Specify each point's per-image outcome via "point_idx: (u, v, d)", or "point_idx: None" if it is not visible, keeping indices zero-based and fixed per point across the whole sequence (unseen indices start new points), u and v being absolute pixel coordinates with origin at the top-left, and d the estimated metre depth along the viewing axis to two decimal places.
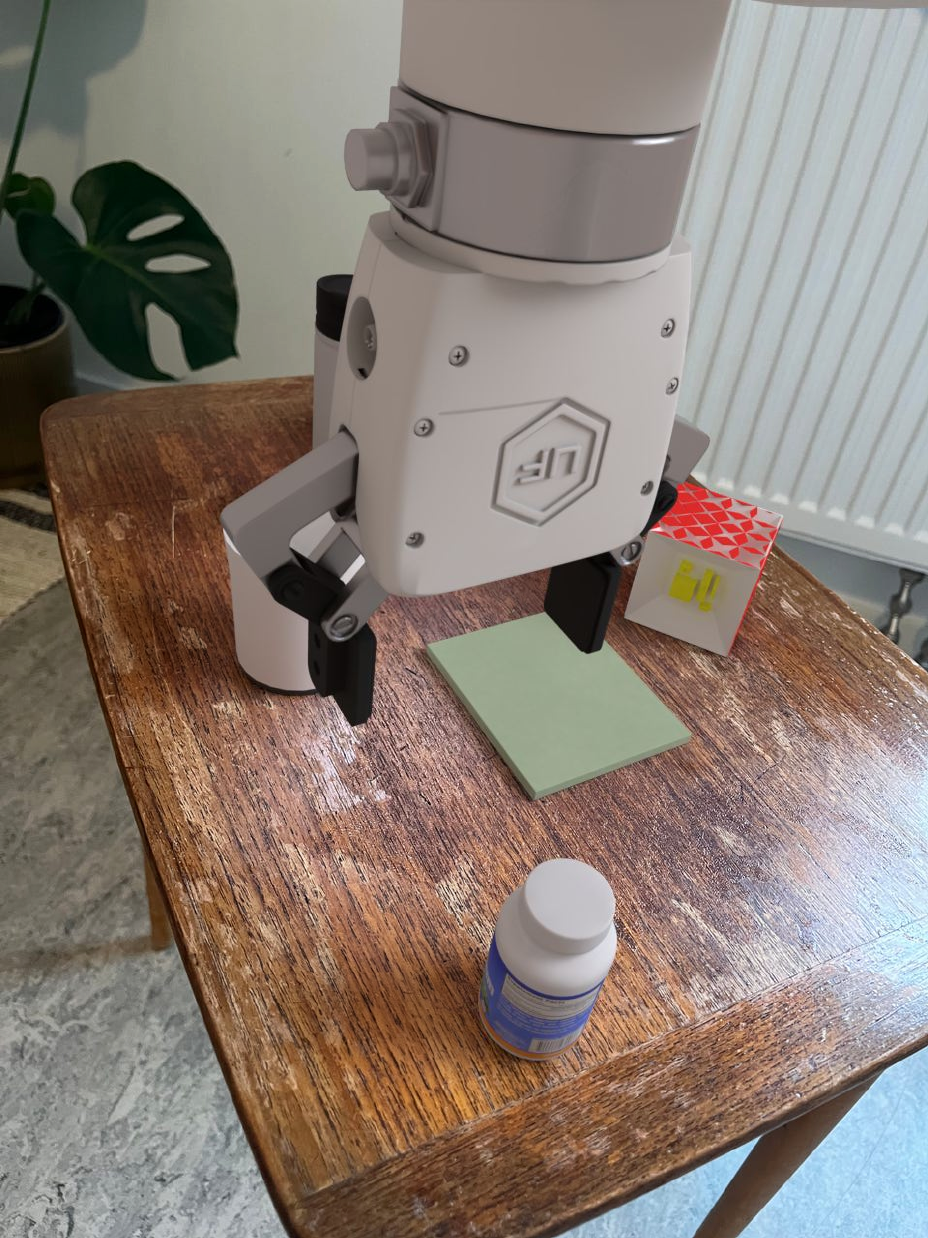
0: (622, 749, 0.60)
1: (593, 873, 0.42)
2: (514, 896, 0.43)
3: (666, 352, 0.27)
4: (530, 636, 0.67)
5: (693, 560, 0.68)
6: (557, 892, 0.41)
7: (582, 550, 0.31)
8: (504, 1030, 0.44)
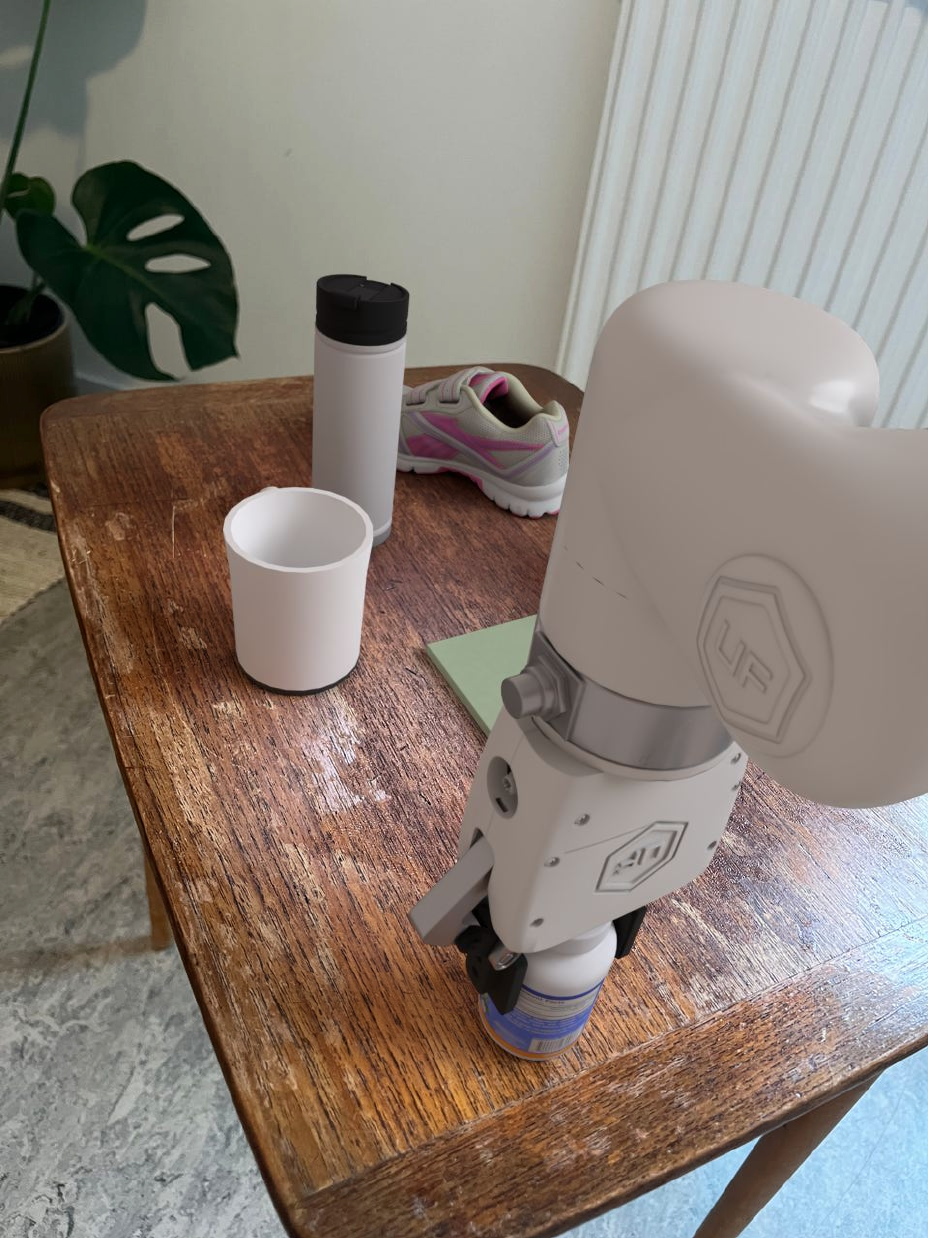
0: None
1: None
2: None
3: (732, 772, 0.35)
4: (530, 636, 0.67)
5: None
6: None
7: (659, 894, 0.38)
8: (504, 1030, 0.44)
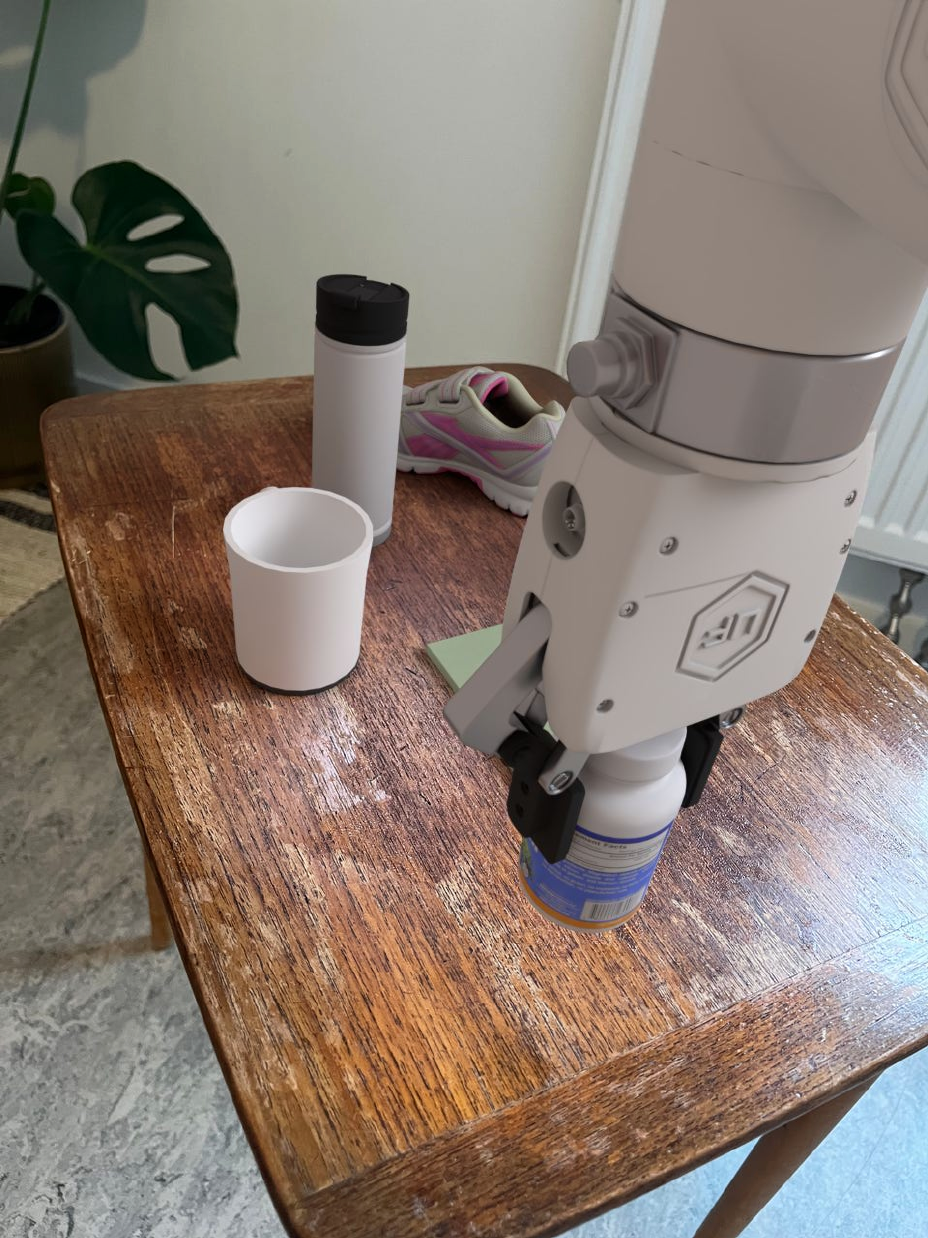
0: None
1: None
2: None
3: (845, 519, 0.28)
4: None
5: None
6: None
7: (746, 697, 0.31)
8: (551, 894, 0.37)
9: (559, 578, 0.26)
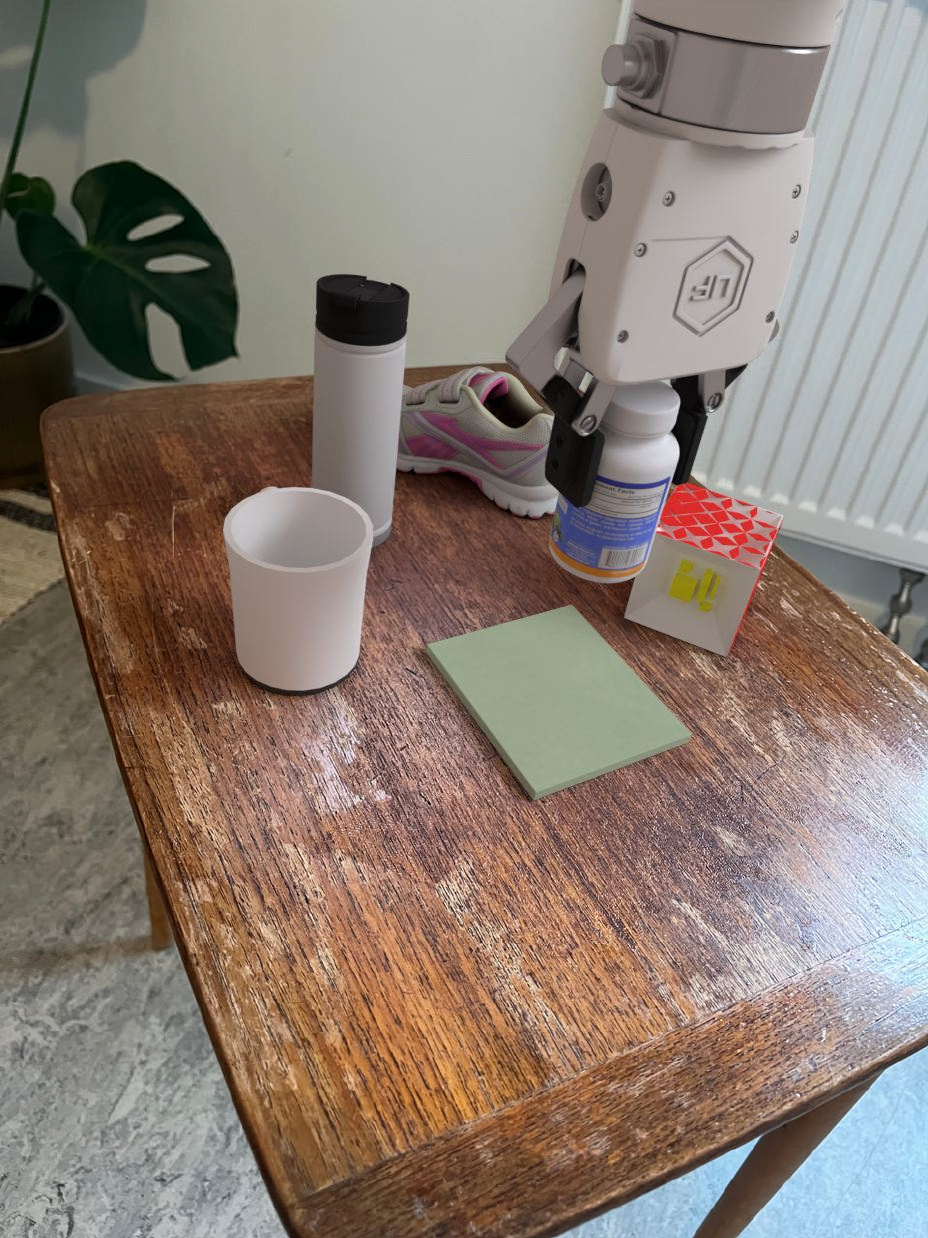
0: (622, 749, 0.60)
1: (659, 382, 0.47)
2: None
3: (793, 210, 0.40)
4: (530, 636, 0.67)
5: (693, 560, 0.68)
6: (628, 388, 0.46)
7: (723, 361, 0.43)
8: (576, 547, 0.49)
9: (592, 236, 0.38)
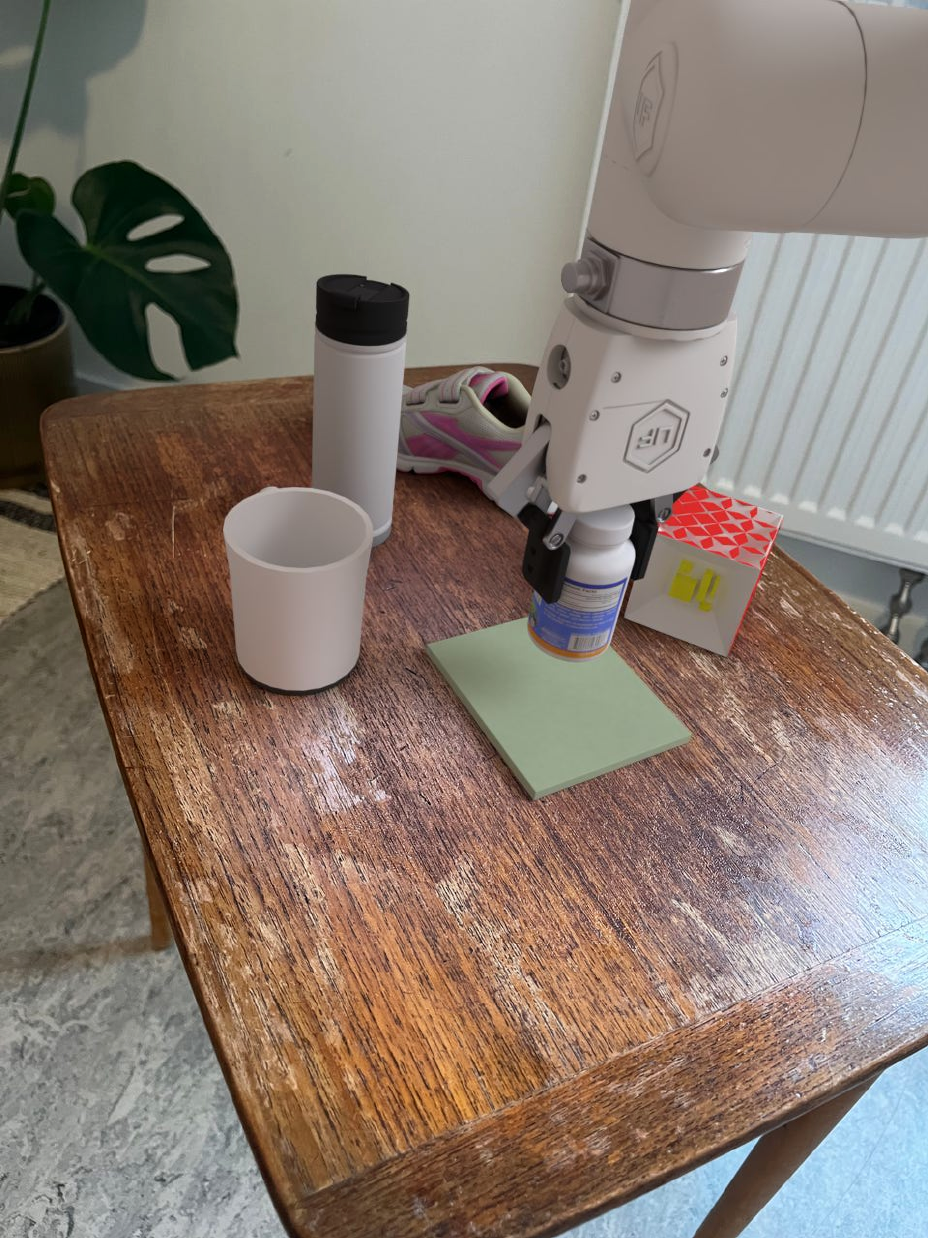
0: (622, 749, 0.60)
1: None
2: None
3: (721, 374, 0.49)
4: None
5: (693, 560, 0.68)
6: None
7: (668, 489, 0.52)
8: (549, 633, 0.58)
9: (556, 401, 0.47)
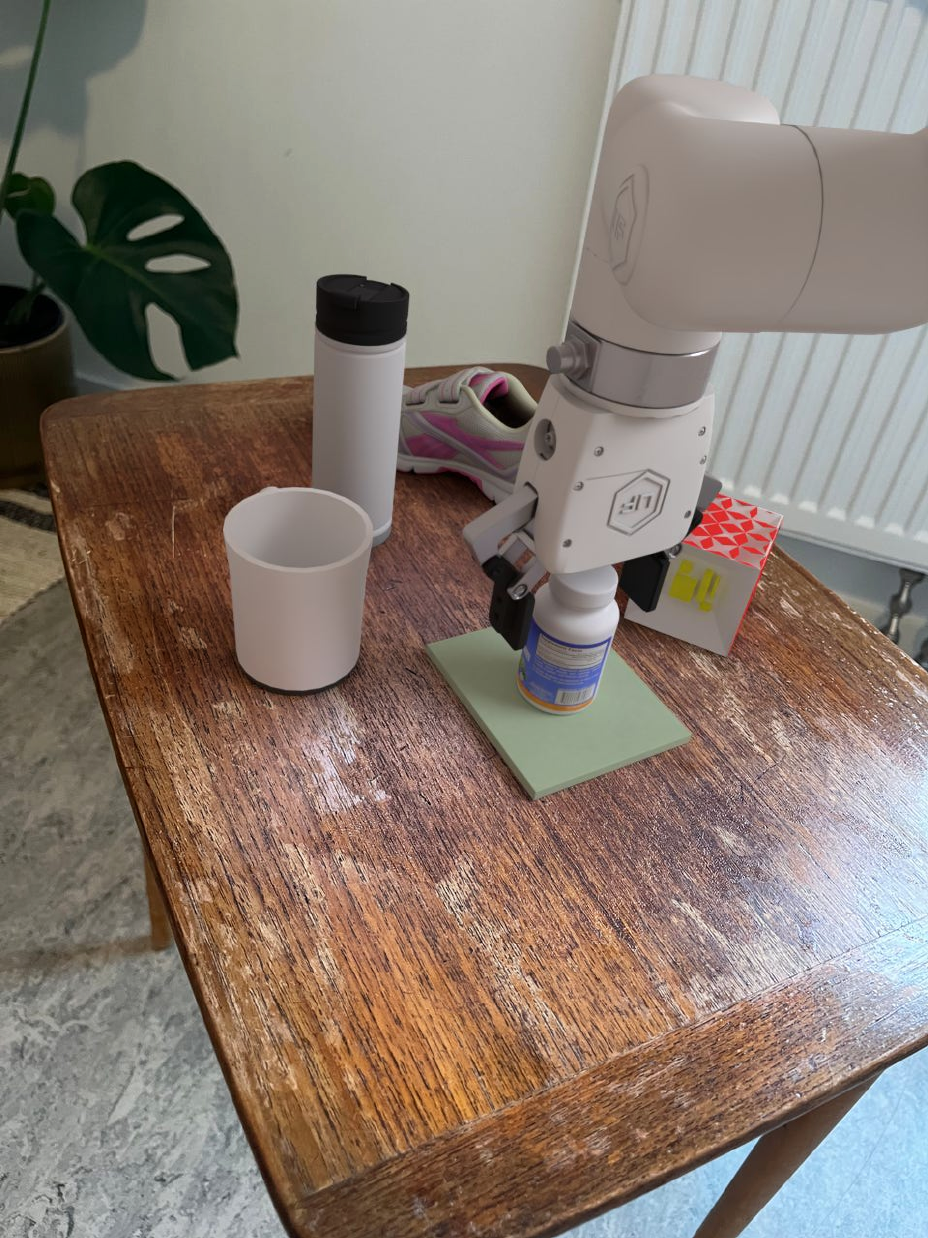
0: (622, 749, 0.60)
1: None
2: (544, 585, 0.59)
3: (700, 443, 0.51)
4: None
5: (693, 560, 0.68)
6: None
7: (651, 549, 0.54)
8: (537, 687, 0.61)
9: (542, 471, 0.50)
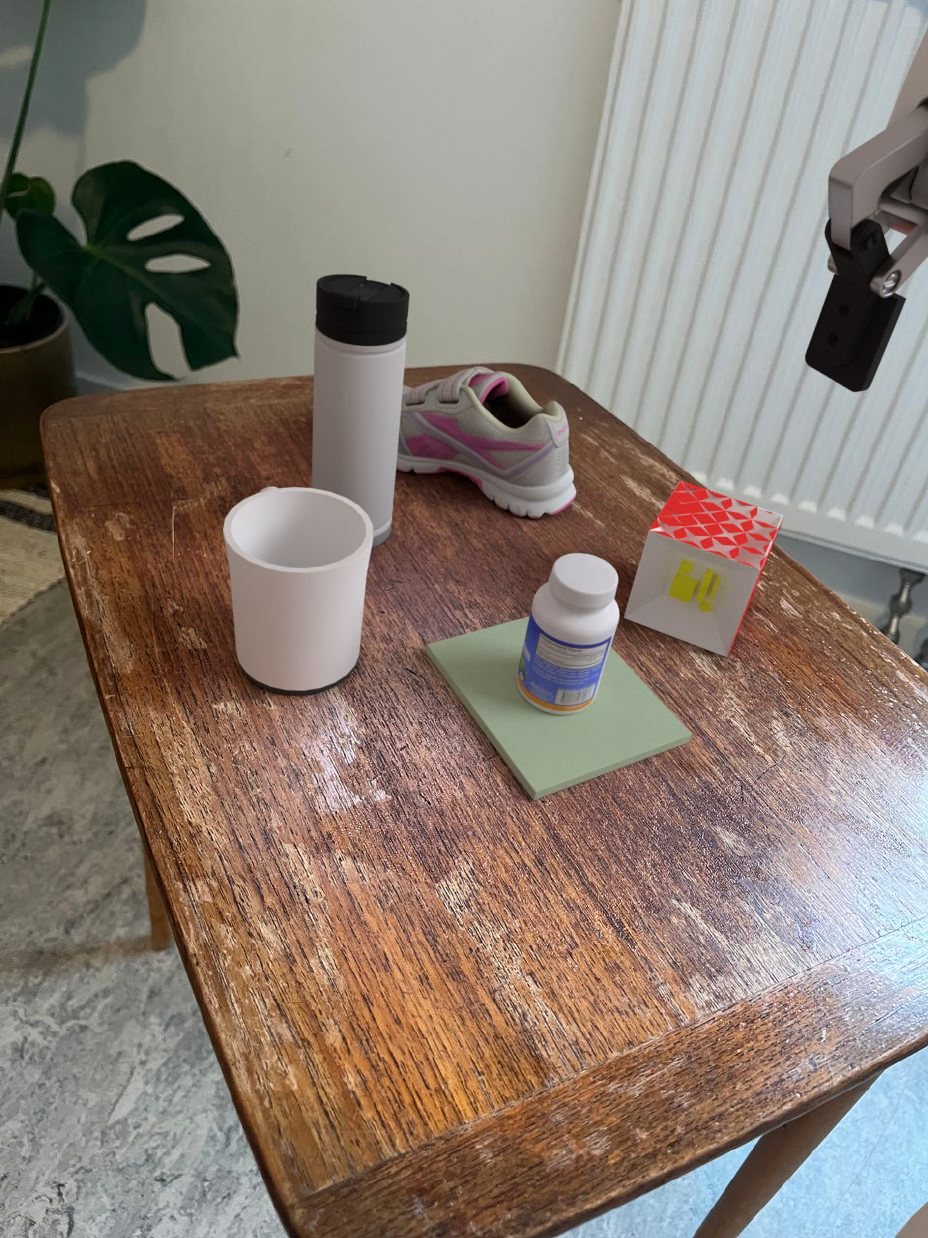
0: (622, 749, 0.60)
1: (602, 561, 0.58)
2: (544, 585, 0.59)
3: None
4: None
5: (693, 560, 0.68)
6: (576, 569, 0.57)
7: None
8: (537, 687, 0.61)
9: None
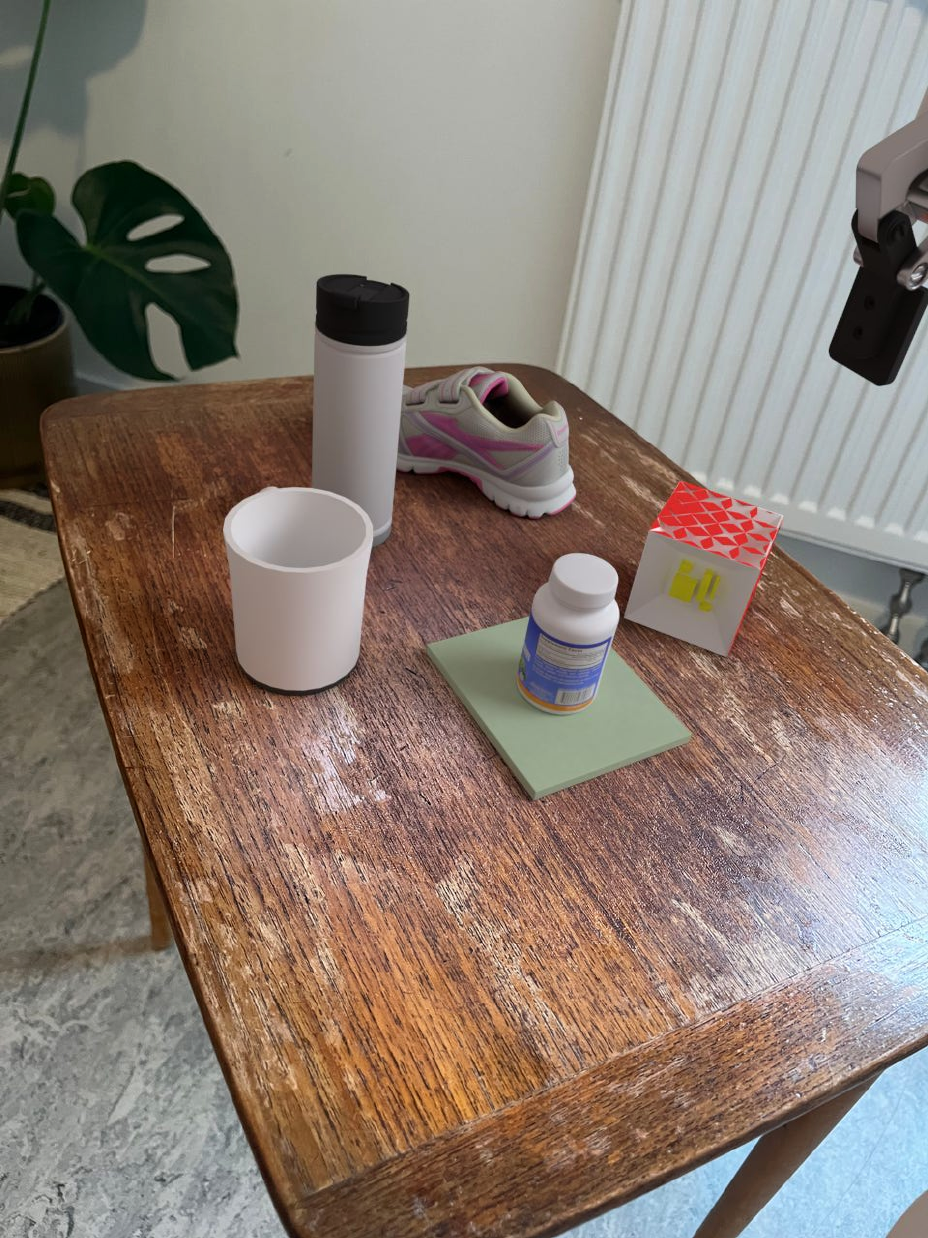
0: (622, 749, 0.60)
1: (602, 561, 0.58)
2: (544, 585, 0.59)
3: None
4: None
5: (693, 560, 0.68)
6: (576, 569, 0.57)
7: None
8: (537, 687, 0.61)
9: None
